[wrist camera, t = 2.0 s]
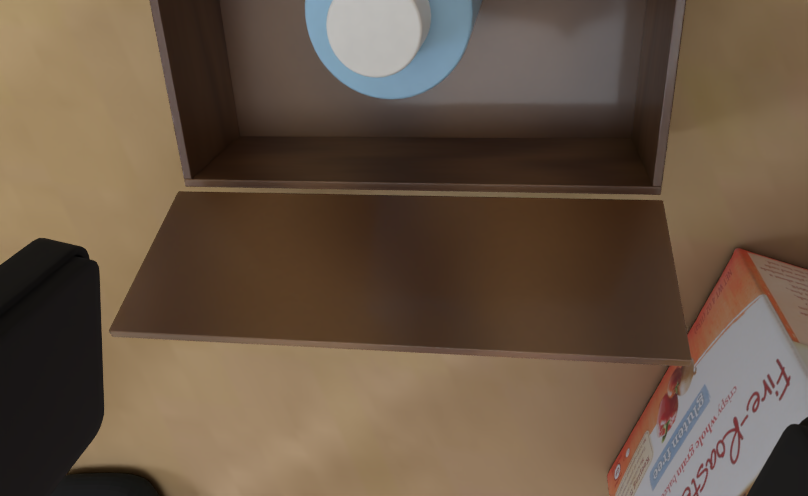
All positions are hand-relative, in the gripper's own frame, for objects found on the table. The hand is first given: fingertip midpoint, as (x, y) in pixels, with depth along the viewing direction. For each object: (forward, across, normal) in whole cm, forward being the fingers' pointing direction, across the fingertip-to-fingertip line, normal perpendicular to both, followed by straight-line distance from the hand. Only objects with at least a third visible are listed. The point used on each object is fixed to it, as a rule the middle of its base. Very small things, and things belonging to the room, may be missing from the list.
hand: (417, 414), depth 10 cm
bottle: (+20, +3, -3) cm, 20 cm away
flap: (+12, +1, +4) cm, 12 cm away
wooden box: (+20, +3, -3) cm, 21 cm away
